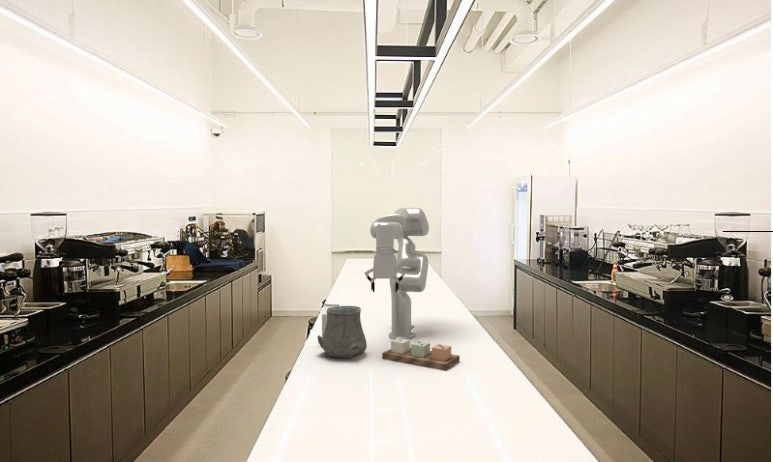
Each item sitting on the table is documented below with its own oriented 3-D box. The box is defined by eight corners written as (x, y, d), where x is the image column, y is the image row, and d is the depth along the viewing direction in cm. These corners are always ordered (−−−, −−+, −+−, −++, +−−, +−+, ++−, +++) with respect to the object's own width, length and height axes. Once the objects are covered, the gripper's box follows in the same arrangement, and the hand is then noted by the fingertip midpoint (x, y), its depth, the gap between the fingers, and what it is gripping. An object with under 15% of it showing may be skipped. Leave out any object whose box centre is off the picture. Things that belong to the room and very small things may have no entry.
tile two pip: (411, 355, 207) (411, 343, 207) (417, 351, 212) (417, 340, 212) (423, 357, 204) (423, 345, 204) (430, 353, 209) (430, 342, 209)
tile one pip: (391, 351, 212) (391, 340, 212) (398, 348, 217) (398, 337, 217) (403, 354, 209) (403, 342, 209) (409, 350, 214) (409, 339, 214)
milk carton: (337, 347, 227) (336, 306, 225) (322, 347, 228) (321, 305, 227) (341, 343, 234) (341, 302, 232) (327, 342, 235) (326, 302, 234)
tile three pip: (431, 359, 202) (431, 347, 202) (438, 355, 207) (438, 343, 207) (445, 361, 199) (445, 349, 199) (451, 357, 204) (451, 345, 204)
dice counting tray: (382, 359, 210) (382, 353, 210) (398, 351, 221) (398, 345, 221) (446, 370, 195) (446, 364, 195) (459, 361, 206) (459, 355, 206)
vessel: (330, 366, 201) (330, 317, 200) (312, 352, 221) (311, 306, 219) (379, 358, 211) (379, 311, 210) (357, 345, 231) (357, 301, 229)
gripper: (405, 251, 218) (405, 290, 219) (365, 251, 219) (365, 290, 219) (405, 252, 211) (405, 293, 212) (364, 252, 211) (364, 293, 212)
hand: (384, 291), depth 215 cm, fingers open, 9 cm apart
